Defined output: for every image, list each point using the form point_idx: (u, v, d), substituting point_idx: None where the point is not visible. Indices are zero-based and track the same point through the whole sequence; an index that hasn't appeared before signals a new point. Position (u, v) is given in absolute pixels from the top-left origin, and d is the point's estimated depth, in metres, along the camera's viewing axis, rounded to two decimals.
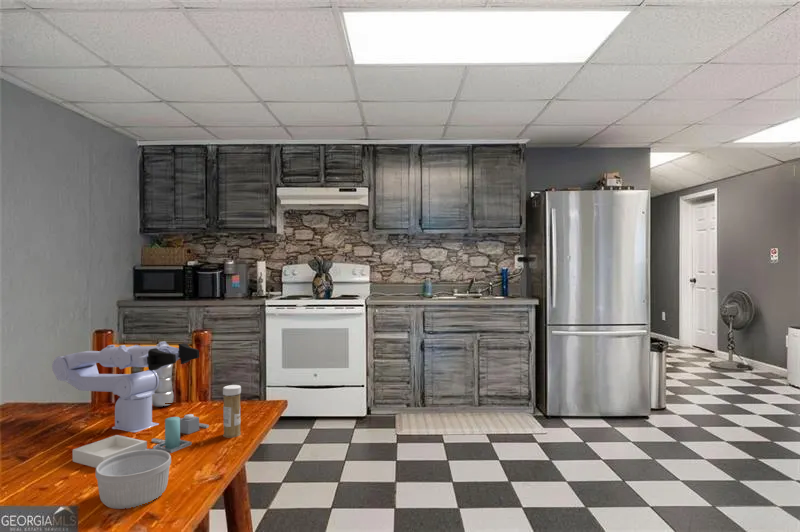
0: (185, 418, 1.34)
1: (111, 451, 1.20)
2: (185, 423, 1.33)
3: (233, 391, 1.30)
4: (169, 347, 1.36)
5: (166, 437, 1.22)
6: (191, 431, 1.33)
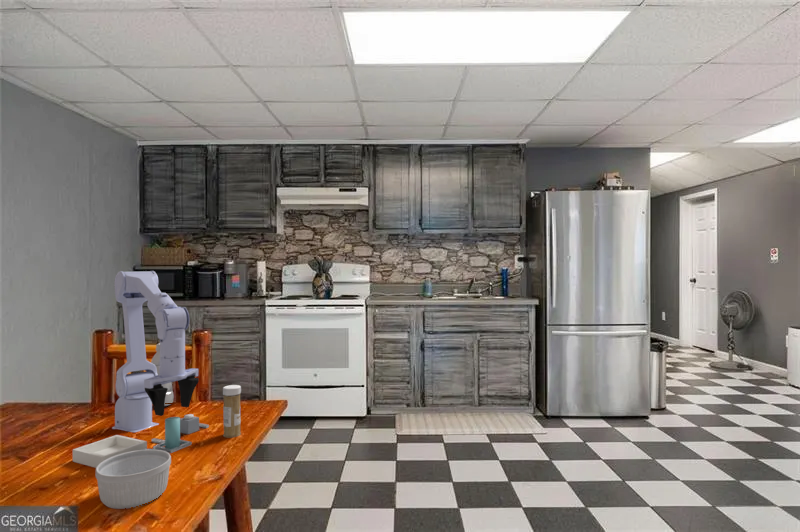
0: (185, 418, 1.34)
1: (111, 451, 1.20)
2: (185, 423, 1.33)
3: (233, 391, 1.30)
4: None
5: (166, 437, 1.22)
6: (191, 431, 1.33)
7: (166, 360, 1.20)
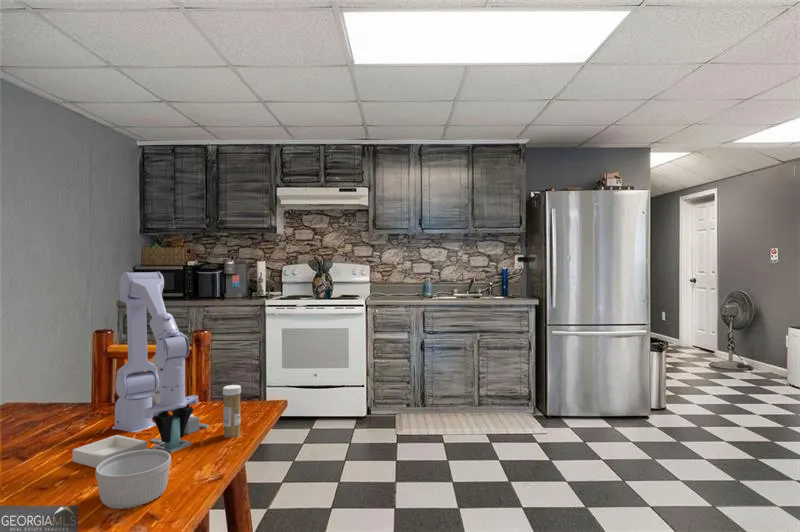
0: None
1: (111, 451, 1.20)
2: None
3: (233, 391, 1.30)
4: None
5: None
6: (191, 431, 1.33)
7: (166, 389, 1.20)
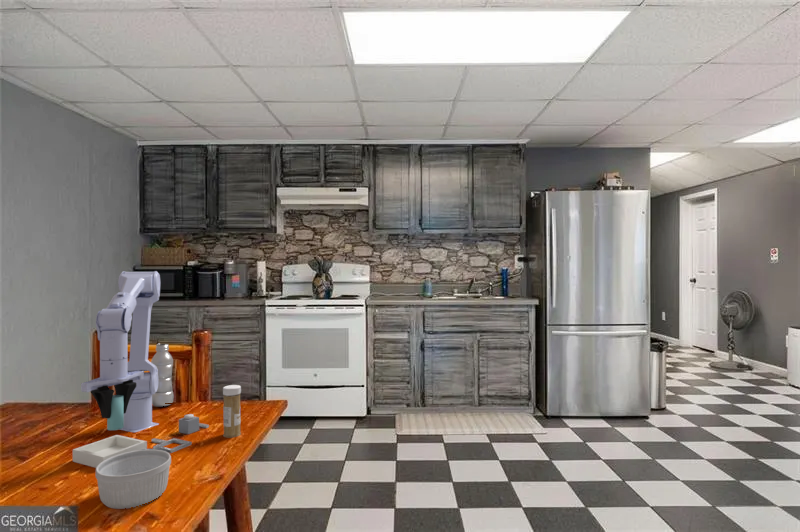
0: (185, 418, 1.34)
1: (111, 451, 1.20)
2: (185, 423, 1.33)
3: (233, 391, 1.30)
4: None
5: None
6: (191, 431, 1.33)
7: (106, 362, 1.15)
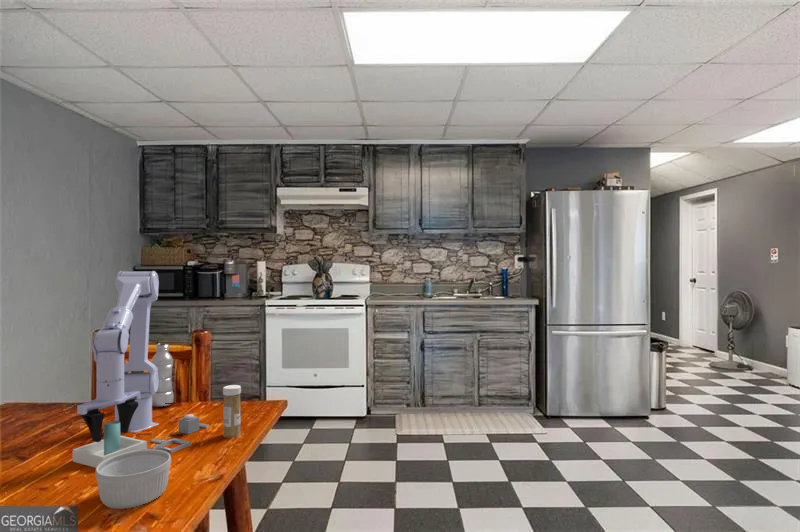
0: (185, 418, 1.34)
1: None
2: (185, 423, 1.33)
3: (233, 391, 1.30)
4: None
5: (106, 443, 1.16)
6: (191, 431, 1.33)
7: (102, 384, 1.15)
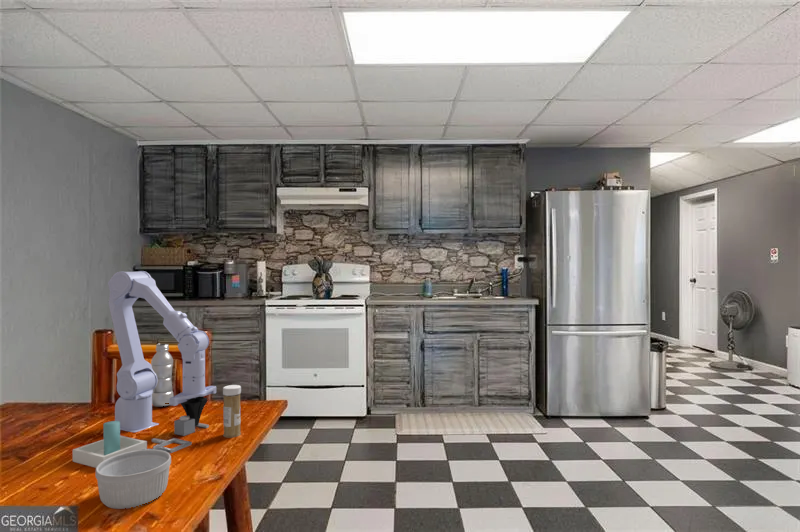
0: (181, 420, 1.32)
1: None
2: (180, 424, 1.31)
3: (233, 391, 1.30)
4: None
5: (105, 442, 1.16)
6: (187, 433, 1.32)
7: (188, 380, 1.33)
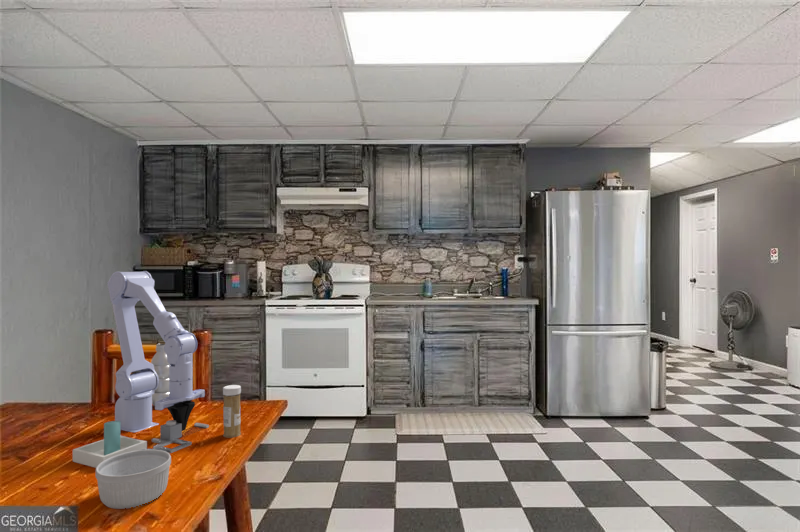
0: (167, 424, 1.28)
1: None
2: (167, 429, 1.27)
3: (233, 391, 1.30)
4: None
5: (105, 442, 1.16)
6: None
7: (175, 383, 1.29)
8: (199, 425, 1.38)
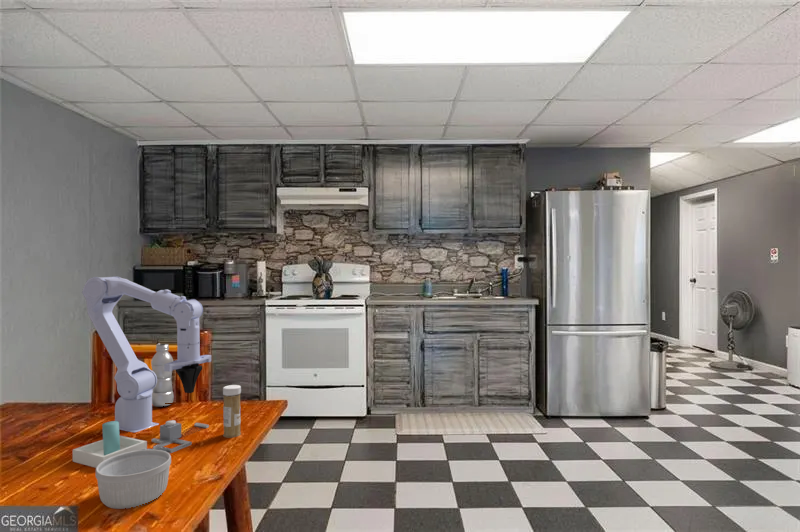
0: (166, 424, 1.28)
1: None
2: (166, 429, 1.27)
3: (233, 391, 1.30)
4: None
5: (104, 443, 1.16)
6: None
7: (183, 346, 1.35)
8: (199, 425, 1.38)
